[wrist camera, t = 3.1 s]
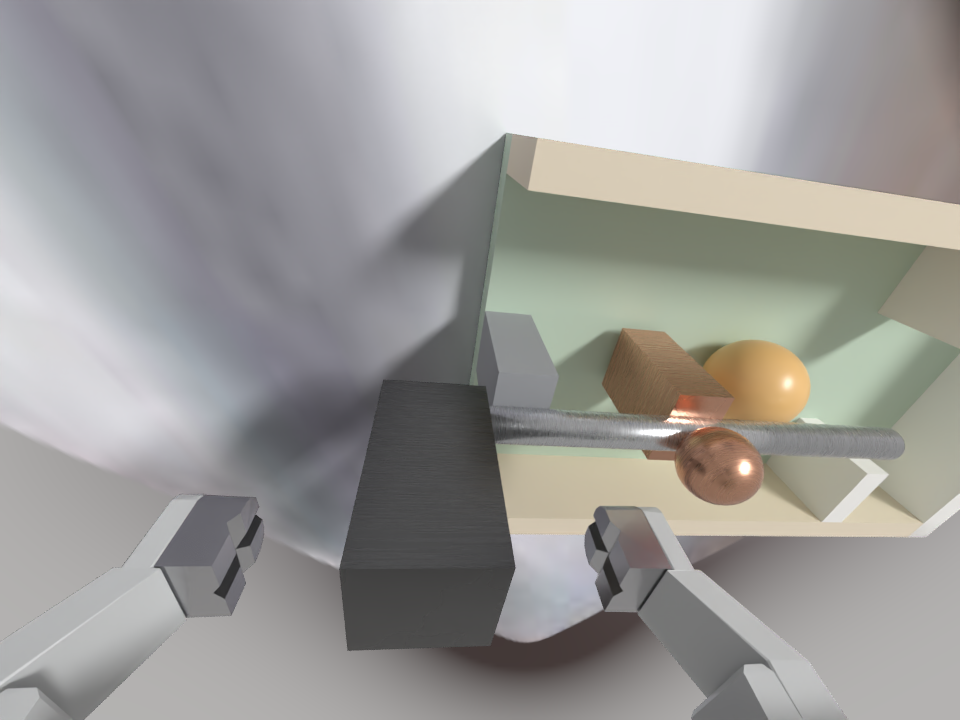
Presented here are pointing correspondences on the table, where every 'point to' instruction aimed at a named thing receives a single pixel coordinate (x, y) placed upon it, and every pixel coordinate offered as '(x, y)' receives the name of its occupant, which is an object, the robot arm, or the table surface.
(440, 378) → the table surface
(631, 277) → the tray
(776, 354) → the ball
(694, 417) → the metal rod tool
